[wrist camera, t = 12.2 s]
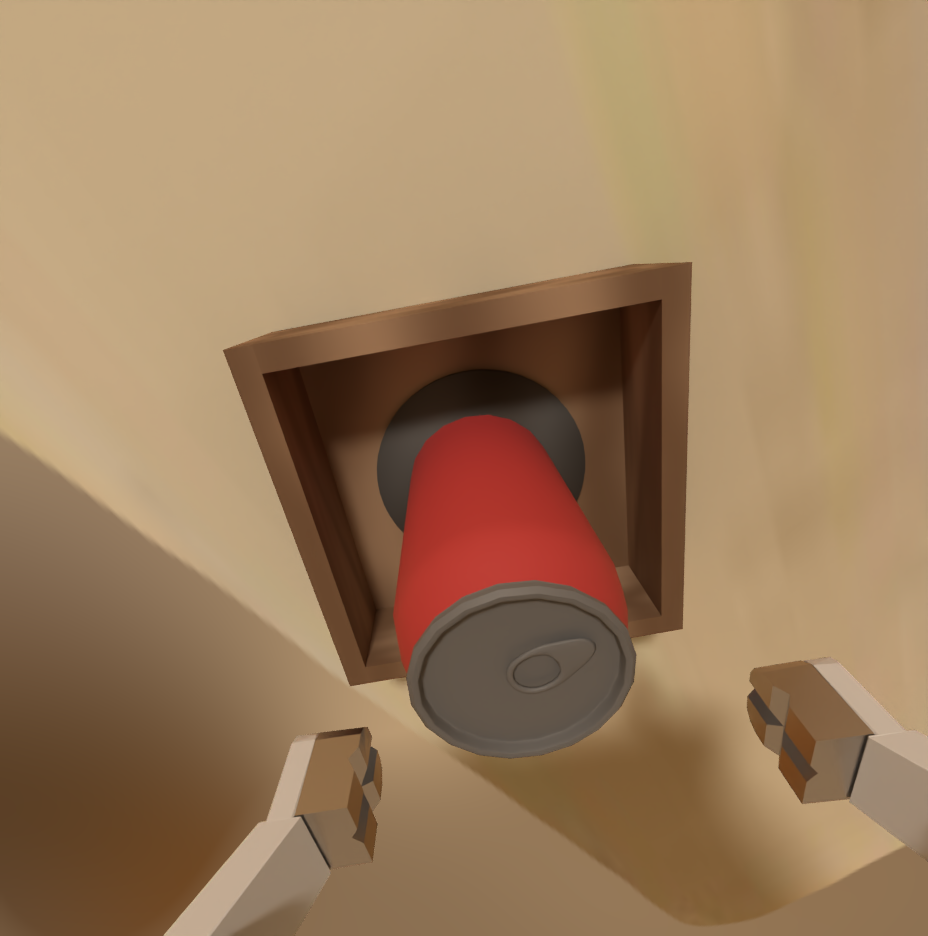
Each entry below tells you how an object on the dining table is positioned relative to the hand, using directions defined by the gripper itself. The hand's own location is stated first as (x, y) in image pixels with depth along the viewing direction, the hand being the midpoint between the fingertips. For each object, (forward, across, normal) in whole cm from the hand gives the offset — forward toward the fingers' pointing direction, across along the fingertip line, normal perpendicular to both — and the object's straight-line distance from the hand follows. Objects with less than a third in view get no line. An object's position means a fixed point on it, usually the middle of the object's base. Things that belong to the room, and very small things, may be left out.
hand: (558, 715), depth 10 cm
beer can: (+13, +1, 0) cm, 13 cm away
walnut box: (+14, +1, 0) cm, 15 cm away
